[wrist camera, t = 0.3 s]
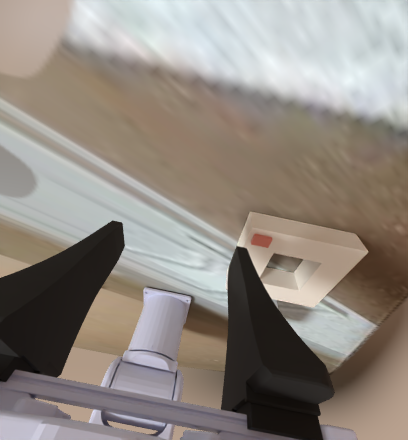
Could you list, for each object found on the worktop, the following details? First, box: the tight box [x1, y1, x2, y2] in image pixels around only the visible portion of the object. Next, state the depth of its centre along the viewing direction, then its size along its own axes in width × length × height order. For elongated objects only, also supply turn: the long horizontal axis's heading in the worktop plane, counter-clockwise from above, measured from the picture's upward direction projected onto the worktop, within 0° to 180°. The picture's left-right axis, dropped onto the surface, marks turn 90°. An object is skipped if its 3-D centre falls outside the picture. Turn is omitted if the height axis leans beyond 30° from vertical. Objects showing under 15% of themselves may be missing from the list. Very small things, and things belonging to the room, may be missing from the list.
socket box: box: [226, 211, 368, 308], centre depth 24 cm, size 11×12×3 cm
